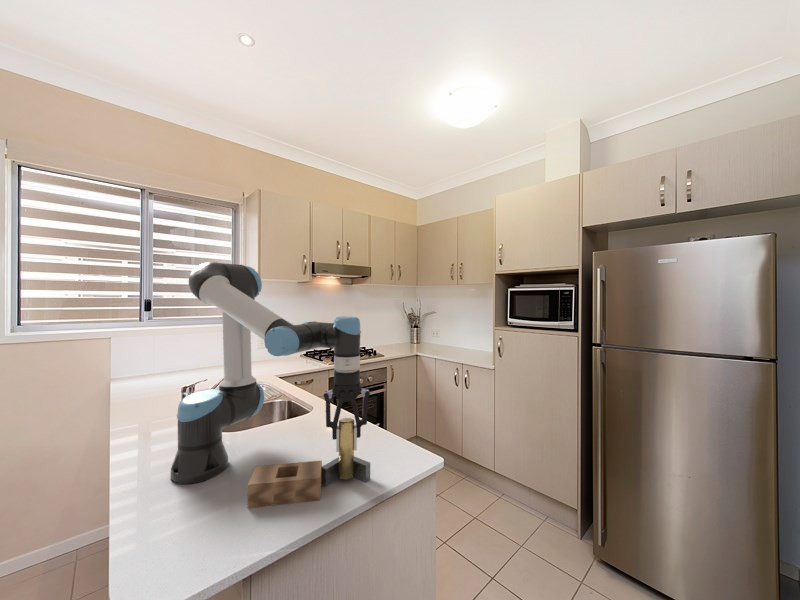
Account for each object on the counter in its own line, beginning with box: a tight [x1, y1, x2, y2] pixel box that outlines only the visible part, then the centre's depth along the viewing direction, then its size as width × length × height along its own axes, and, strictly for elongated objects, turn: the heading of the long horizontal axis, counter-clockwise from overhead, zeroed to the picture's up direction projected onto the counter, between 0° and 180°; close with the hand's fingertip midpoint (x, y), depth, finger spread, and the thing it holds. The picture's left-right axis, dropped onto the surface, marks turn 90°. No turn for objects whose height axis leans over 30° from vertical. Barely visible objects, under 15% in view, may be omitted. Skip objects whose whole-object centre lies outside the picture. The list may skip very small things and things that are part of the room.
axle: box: [338, 417, 355, 480], centre depth 94 cm, size 4×4×16 cm
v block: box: [321, 456, 371, 487], centre depth 96 cm, size 14×7×5 cm, turn 101°
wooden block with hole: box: [246, 460, 323, 509], centre depth 88 cm, size 18×9×6 cm, turn 101°
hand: (346, 448), depth 94 cm, fingers closed on axle, 4 cm apart
